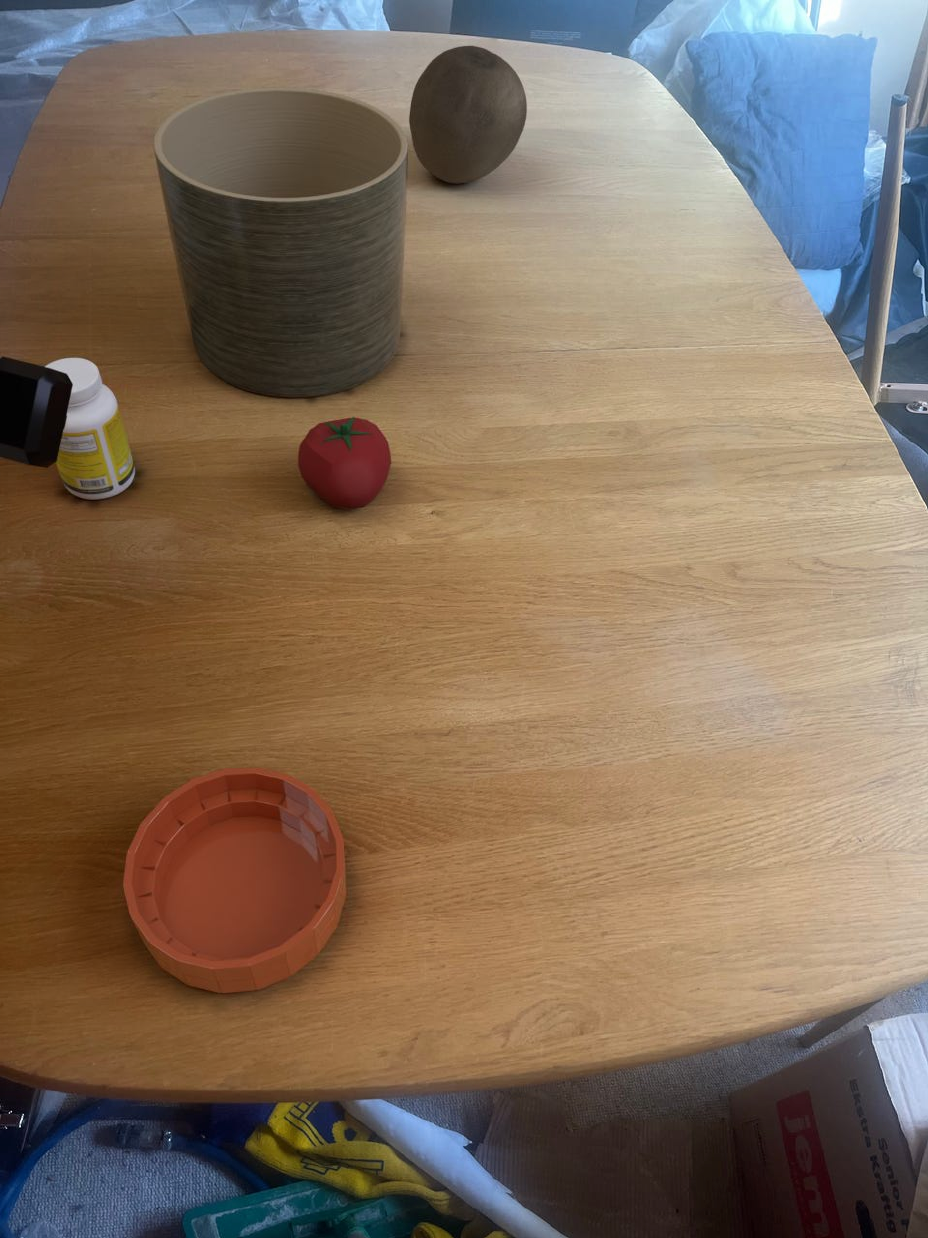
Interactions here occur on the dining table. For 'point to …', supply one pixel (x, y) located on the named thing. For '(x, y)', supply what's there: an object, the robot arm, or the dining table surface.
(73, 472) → the pill bottle
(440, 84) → the egg shaped brown fruit
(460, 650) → the dining table surface
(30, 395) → the robot arm
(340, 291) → the planter
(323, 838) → the bowl
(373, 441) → the tomato
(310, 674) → the dining table surface
